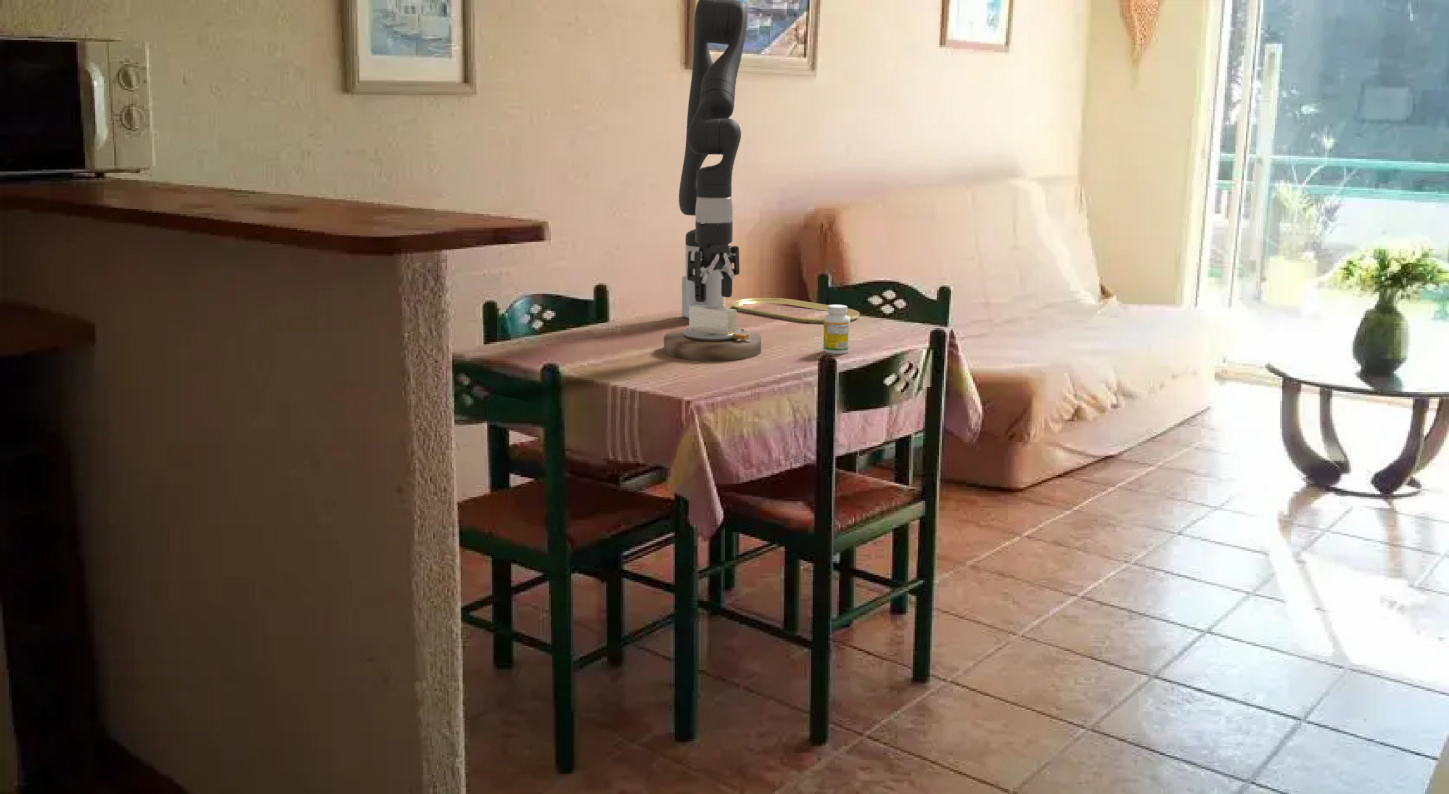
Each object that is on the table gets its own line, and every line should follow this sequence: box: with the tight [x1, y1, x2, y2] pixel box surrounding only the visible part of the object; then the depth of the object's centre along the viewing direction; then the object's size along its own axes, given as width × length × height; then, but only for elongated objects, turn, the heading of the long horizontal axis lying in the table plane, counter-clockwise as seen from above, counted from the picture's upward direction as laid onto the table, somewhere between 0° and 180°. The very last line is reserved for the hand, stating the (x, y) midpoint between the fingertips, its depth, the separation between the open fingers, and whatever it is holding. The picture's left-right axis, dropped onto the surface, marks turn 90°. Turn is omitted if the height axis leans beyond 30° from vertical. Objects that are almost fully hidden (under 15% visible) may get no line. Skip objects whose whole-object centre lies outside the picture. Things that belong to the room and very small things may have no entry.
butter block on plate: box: [683, 304, 749, 341], centre depth 264 cm, size 15×12×6 cm
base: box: [663, 328, 762, 362], centre depth 266 cm, size 20×20×3 cm
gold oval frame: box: [732, 297, 860, 324], centre depth 313 cm, size 19×35×2 cm, turn 44°
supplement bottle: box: [822, 304, 851, 355], centre depth 265 cm, size 5×5×10 cm
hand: (713, 299), depth 263 cm, fingers open, 8 cm apart
